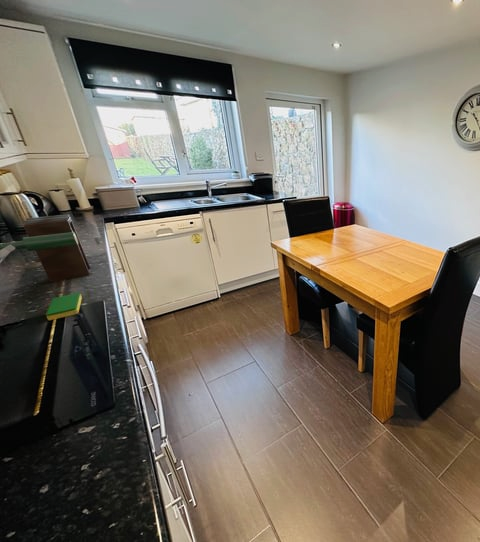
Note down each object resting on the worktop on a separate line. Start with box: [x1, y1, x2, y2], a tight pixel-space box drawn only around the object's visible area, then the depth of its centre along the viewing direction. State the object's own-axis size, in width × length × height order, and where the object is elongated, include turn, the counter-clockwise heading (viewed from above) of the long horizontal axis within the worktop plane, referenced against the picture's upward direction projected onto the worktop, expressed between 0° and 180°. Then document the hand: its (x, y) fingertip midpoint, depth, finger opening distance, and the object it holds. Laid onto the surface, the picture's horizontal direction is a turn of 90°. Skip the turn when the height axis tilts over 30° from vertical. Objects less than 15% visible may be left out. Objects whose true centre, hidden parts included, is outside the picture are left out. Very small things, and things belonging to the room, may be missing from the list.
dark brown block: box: [23, 214, 92, 283], centre depth 116 cm, size 12×10×25 cm
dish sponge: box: [45, 292, 83, 321], centre depth 96 cm, size 7×14×2 cm, turn 38°
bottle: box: [0, 232, 78, 252], centre depth 102 cm, size 21×5×5 cm, turn 130°
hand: (14, 244), depth 99 cm, fingers closed on bottle, 2 cm apart
